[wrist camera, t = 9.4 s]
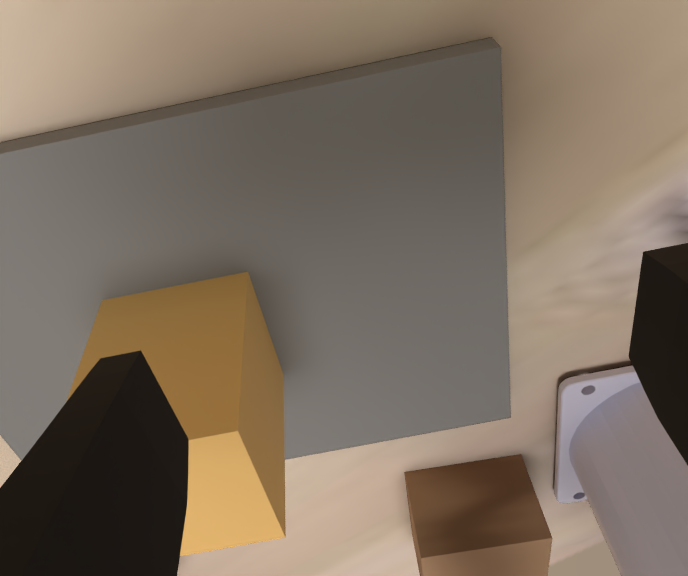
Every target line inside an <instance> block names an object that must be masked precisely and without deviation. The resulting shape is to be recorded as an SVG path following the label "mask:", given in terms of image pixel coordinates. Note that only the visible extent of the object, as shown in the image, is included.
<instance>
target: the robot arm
mask: <svg viewBox="0 0 688 576" xmlns="http://www.w3.org/2000/svg"><path fill="white" fill-rule="evenodd" d="M629 358H630V360H631V362H632V366H627V367H622V368H616V369H611V370H606V371H600V372H595V373H590V374H584V375H579V376H574V377H570V378H567V379H565V380H564V381H563V382H562V383H561V384H560V385H559V390H558V413H557V436H556V459H555V482H554V494H555V497H556V500H557V501H558V502H559V503H562V504H568V503H573V502H579V501H584V500H588V502H589V504H590V507H591V509H592V511H593V513H594V516H595V518H596V520H597V522H598V525H599V527H600V529H601V531H602V534H603V536H604V538H605V540H606V543H607V545H608V547H609V549H610V552H611V554H612V556H613V558H614V560H615V563H616V565H617V567H618V570H619V572H620V574H621V576H688V243H686V244H681V245H676V246H671V247H665V248H660V249H655V250H650V251H645V252H643V257H642V264H641V272H640V279H639V286H638V293H637V300H636V307H635V315H634V322H633V329H632V336H631V343H630V351H629ZM188 456H189V439H188V437H187V435H186V433H185V431H184V430H183V428H182V426H181V424H180V422H179V420H178V418H177V417H176V415H175V413H174V411H173V409H172V407H171V405H170V404H169V402H168V400H167V398H166V396H165V394H164V392H163V390H162V389H161V387H160V385H159V383H158V381H157V379H156V377H155V376H154V374H153V372H152V370H151V368H150V366H149V364H148V362H147V361H146V359H145V357H144V355H143V353H142V351H141V350H140V351H135V352H130V353H125V354H120V355H115V356H110V357H105V358H100V359H99V361H98V362H97V363H96V364H95V366H94V367H93V368H92V369H91V370H90V372H89V373H88V374H87V376H86V377H85V378H84V379H83V381H82V382H81V383H80V385H79V386H78V387H77V389H76V390H75V391H74V393H73V394H72V395H71V396H70V398H69V399H68V400H67V402H66V403H65V404H64V406H63V407H62V408H61V410H60V411H59V412H58V414H57V415H56V416H55V418H54V419H53V420H52V422H51V423H50V424H49V426H48V427H47V428H46V430H45V431H44V432H43V434H42V435H41V436H40V438H39V439H38V440H37V441H36V443H35V444H34V445H33V447H32V448H31V449H30V450H29V452H28V453H27V454H26V456H25V457H24V458H23V460H22V461H21V462H20V463H19V465H18V466H17V467H16V469H15V470H14V471H13V472H12V474H11V475H10V476H9V478H8V479H7V480H6V482H5V483H4V484H3V485H2V487H1V488H0V576H177V571H178V564H179V558H180V551H181V544H182V538H183V531H184V524H185V517H186V509H187V497H188Z"/></svg>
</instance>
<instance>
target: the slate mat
mask: <svg viewBox="0 0 688 576" xmlns="http://www.w3.org/2000/svg"><path fill="white" fill-rule="evenodd" d="M244 272H248V273H249V276H250V279H251V282H252V285H253V288H254V291H255V294H256V296H257V299H258V302H259V305H260V308H261V311H262V314H263V317H264V320H265V323H266V325H267V328H268V331H269V334H270V337H271V340H272V343H273V346H274V349H275V352H276V354H277V357H278V360H279V363H280V366H281V369H282V372H283V375H284V452H285V460H286V459H291V458H297V457H302V456H307V455H313V454H318V453H324V452H329V451H334V450H340V449H345V448H350V447H356V446H361V445H367V444H372V443H377V442H383V441H388V440H394V439H399V438H404V437H410V436H415V435H420V434H426V433H431V432H437V431H442V430H447V429H453V428H458V427H463V426H469V425H474V424H480V423H485V422H490V421H496V420H501V419H507V418H511V406H510V370H509V334H508V297H507V261H506V225H505V189H504V152H503V116H502V80H501V47H500V46H499V45H498V44H497V43H496V42H495V40H494V39H493V38H492V37H491V38H487V39H482V40H477V41H473V42H468V43H463V44H459V45H454V46H449V47H445V48H440V49H435V50H431V51H426V52H421V53H417V54H412V55H407V56H403V57H398V58H393V59H389V60H384V61H379V62H375V63H370V64H365V65H361V66H356V67H351V68H347V69H342V70H337V71H333V72H328V73H323V74H319V75H314V76H309V77H305V78H300V79H295V80H291V81H286V82H281V83H277V84H272V85H267V86H263V87H258V88H253V89H249V90H244V91H239V92H235V93H230V94H225V95H221V96H216V97H211V98H207V99H202V100H197V101H193V102H188V103H183V104H179V105H174V106H169V107H165V108H160V109H155V110H151V111H146V112H141V113H137V114H132V115H127V116H123V117H118V118H113V119H109V120H104V121H99V122H95V123H90V124H85V125H81V126H76V127H71V128H67V129H62V130H57V131H53V132H48V133H43V134H39V135H34V136H29V137H25V138H20V139H15V140H11V141H6V142H1V143H0V435H1V436H2V438H3V439H4V440H5V441H6V442H7V444H8V445H9V446H10V447H11V449H12V450H13V451H14V452H15V453H16V455H17V456H18V457H19V458H20V459H21V461H22V460H23V458H24V457H25V456H26V454H27V453H28V452H29V450H30V449H31V448H32V447H33V445H34V444H35V443H36V441H37V440H38V439H39V438H40V436H41V435H42V434H43V432H44V431H45V430H46V428H47V427H48V426H49V424H50V423H51V422H52V420H53V419H54V418H55V416H56V415H57V414H58V412H59V411H60V410H61V408H62V407H63V406H64V404H65V403H66V401H67V398H68V395H69V393H70V390H71V387H72V384H73V381H74V378H75V376H76V373H77V370H78V367H79V364H80V361H81V359H82V356H83V353H84V350H85V347H86V344H87V342H88V339H89V336H90V333H91V330H92V327H93V325H94V322H95V319H96V316H97V313H98V310H99V308H100V305H101V302H102V300H107V299H112V298H117V297H122V296H127V295H132V294H137V293H142V292H147V291H152V290H157V289H162V288H168V287H173V286H178V285H183V284H188V283H193V282H198V281H203V280H208V279H213V278H218V277H223V276H228V275H234V274H239V273H244Z"/></svg>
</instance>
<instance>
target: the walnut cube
mask: <svg viewBox="0 0 688 576" xmlns="http://www.w3.org/2000/svg"><path fill="white" fill-rule="evenodd" d="M404 473H405V480H406V488H407V496H408V504H409V512H410V520H411V528H412V535H413V541H414V546H415V552H416V557H417V562H418V568H419V573H420V576H547V575H548V567H549V560H550V552H551V544H552V536H551V533H550V531H549V528H548V525H547V523H546V520H545V517H544V515H543V512H542V509H541V507H540V504H539V501H538V499H537V496H536V493H535V491H534V488H533V485H532V483H531V480H530V477H529V475H528V472H527V469H526V467H525V464H524V461H523V459H522V456H521V454H519V455H513V456H506V457H500V458H493V459H487V460H480V461H474V462H467V463H461V464H454V465H448V466H441V467H435V468H428V469H422V470H415V471H409V472H404Z"/></svg>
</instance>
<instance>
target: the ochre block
mask: <svg viewBox="0 0 688 576" xmlns="http://www.w3.org/2000/svg"><path fill="white" fill-rule="evenodd" d="M140 350H141V351H142V353H143V355H144V357H145V359H146V361H147V362H148V364H149V366H150V368H151V370H152V372H153V374H154V376H155V377H156V379H157V381H158V383H159V385H160V387H161V389H162V390H163V392H164V394H165V396H166V398H167V400H168V402H169V404H170V405H171V407H172V409H173V411H174V413H175V415H176V417H177V418H178V420H179V422H180V424H181V426H182V428H183V430H184V431H185V433H186V435H187V437H188V439H189V456H188V497H187V509H186V517H185V524H184V531H183V538H182V544H181V551H180V556H184V555H190V554H196V553H201V552H207V551H212V550H218V549H224V548H229V547H235V546H241V545H246V544H252V543H257V542H263V541H269V540H274V539H280V538H285V452H284V375H283V372H282V369H281V366H280V363H279V360H278V357H277V354H276V352H275V349H274V346H273V343H272V340H271V337H270V334H269V331H268V328H267V325H266V323H265V320H264V317H263V314H262V311H261V308H260V305H259V302H258V299H257V296H256V294H255V291H254V288H253V285H252V282H251V279H250V276H249V273H248V272H244V273H239V274H234V275H228V276H223V277H218V278H213V279H208V280H203V281H198V282H193V283H188V284H183V285H178V286H173V287H168V288H162V289H157V290H152V291H147V292H142V293H137V294H132V295H127V296H122V297H117V298H112V299H107V300H102V302H101V305H100V308H99V310H98V313H97V316H96V319H95V322H94V325H93V327H92V330H91V333H90V336H89V339H88V342H87V344H86V347H85V350H84V353H83V356H82V359H81V361H80V364H79V367H78V370H77V373H76V376H75V378H74V381H73V384H72V387H71V390H70V393H69V395H68V398H67V400H68V399H69V398H70V396H71V395H72V394H73V393H74V391H75V390H76V389H77V387H78V386H79V385H80V383H81V382H82V381H83V379H84V378H85V377H86V376H87V374H88V373H89V372H90V370H91V369H92V368H93V367H94V366H95V364H96V363H97V362H98V361H99V359H100V358H105V357H110V356H115V355H120V354H125V353H130V352H135V351H140ZM66 402H67V401H66Z"/></svg>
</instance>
